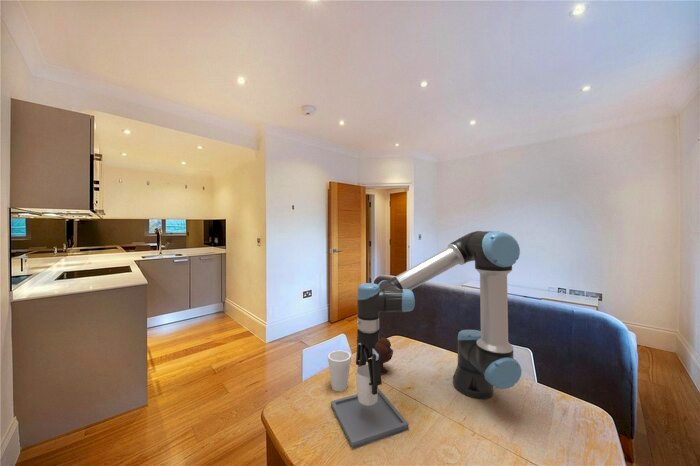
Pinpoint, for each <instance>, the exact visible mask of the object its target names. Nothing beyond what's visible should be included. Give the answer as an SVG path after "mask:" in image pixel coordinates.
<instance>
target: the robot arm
mask: <svg viewBox="0 0 700 466" xmlns="http://www.w3.org/2000/svg"><path fill="white" fill-rule="evenodd" d="M520 254H521V250H520V245H519V243H518V241H517V240H516V239H515V237H513V236H512V235H511V234H510V233H508V232H507V233H506V232H504V231H502V232H501V231H497V230H494V231H490V230H489V231H485V230H484V231H481V230H477V231H472V232H470V233H469V232H468V233H467V234H465V235H463V236H461V237H459V238H458V239H455V240H453V241H452V242H450V243H449V244H448V245H447V247H446V248H445V249H443V250H441V251H439V252H437V253H436V254H434V255H432V256H430V257H428V258H426V259H425V260H423V261H421V262H419V263H418V264H416V265H414V266H412V267H410V268H409V269H406V270H405V271H403V272H401V273H399V274H397V275H396V276H394V277H392V278H390V279H384V280H381V281H380V282H378V283H371V282H366V283H365V282H364V283H361V284H359V285H358V286H357V296H356V299H357V305H356V306H357V311H356V313H357V321H356V324H357V332H356V335H357V336H356V357H355V365H356V366H357V368H358V367H360V366H362V365H368V368H369V374H370V381H371V383H369V403H370V404H371V403H375V402H377V395H378V389H379V386H381V385H382V374H381V364H380V359H381V354H380V353H377V352H376V347H375V345H376V343H377V342H378V341H379V339H380V330H379V329H380V313H405V312H407V313H408V312H412V311H414V309H415V306H416V305H415V303H416V300H415V294H414V292H413V290H414V289H417V287H419V286H420V285H421V286H422V285H423V284H425V283H426V282H429V281H430V280H432V279H433V278H435V277H437V276H439V275H440V274H442V273H445V272H447V271H448V270H450V269H452V268H454V267H455V266H458V265H459V266H463V265H464V264H467V263H470V262H474V269H475V271H477V272H478V273H479V300H480V303H479V304H480V306H479V307H480V330H477V329H462V330H460V331H459V332H458V335H457V366H456V368H455V370H454V374H453V376H452V384H453V388H455V389H456V390H457V391H458V392H459V393H461V394H462V395H465V396H467V397H470V398H473V399H478V400H479V399H481V400H482V399H490V398H491V397H492V396H493V395H494V387H495V388H496V389H499V390H507V389H510V388H512V387H514V386H515V385H516V384H518V382H519V381H520V379H521V376H522V367H521V365H520V364H519V362H518V361H517V360H516V359H515V358H514V346H513V345H512V344H511V343H510V342H509V318H508V316H509V309H508V307H509V306H508V301H509V300H508V274H510V273H511V272H512V271H513V265H515V264H516V263H517V261H518V260H519V258H520Z"/></svg>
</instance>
